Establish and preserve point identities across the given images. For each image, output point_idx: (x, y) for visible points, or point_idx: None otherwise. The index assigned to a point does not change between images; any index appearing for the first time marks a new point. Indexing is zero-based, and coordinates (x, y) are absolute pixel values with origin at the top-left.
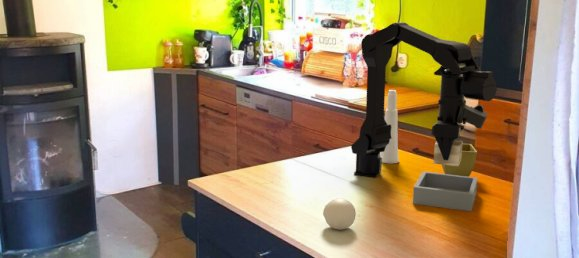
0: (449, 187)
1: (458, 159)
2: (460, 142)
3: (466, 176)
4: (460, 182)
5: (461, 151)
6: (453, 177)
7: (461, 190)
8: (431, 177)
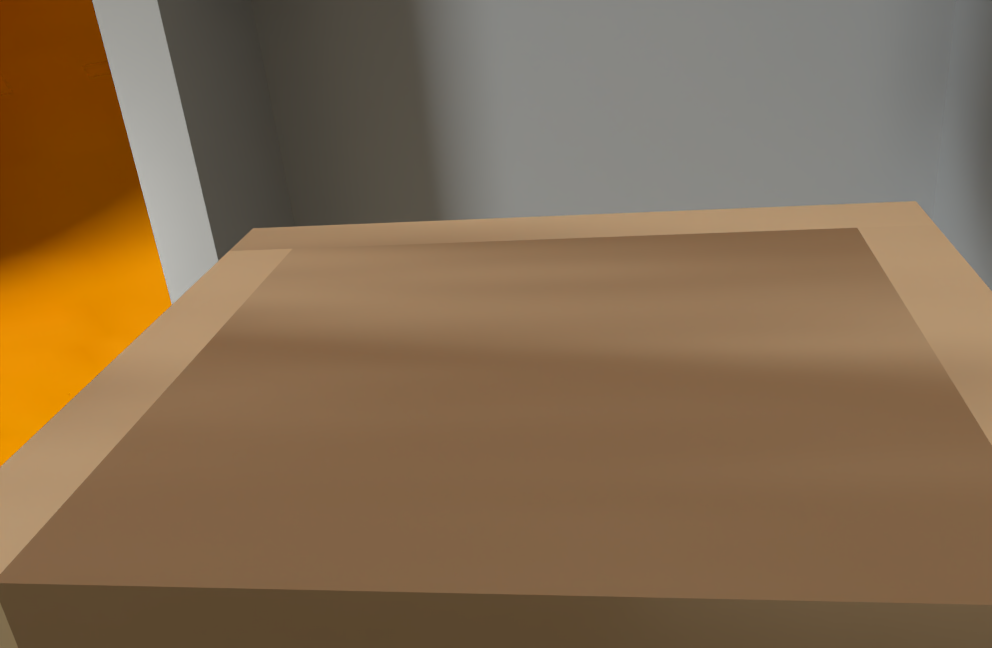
0: (285, 212)
1: (974, 292)
2: (267, 641)
3: (101, 31)
4: (223, 93)
5: (245, 341)
6: (221, 221)
7: (283, 44)
8: None
